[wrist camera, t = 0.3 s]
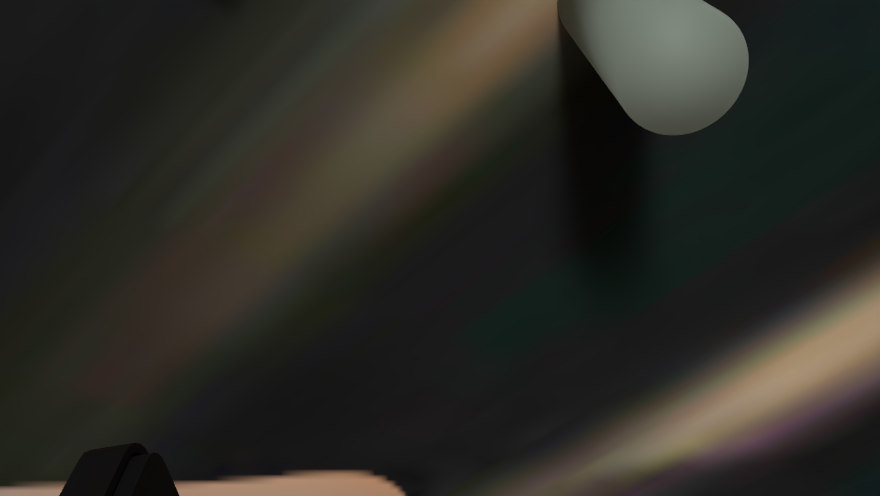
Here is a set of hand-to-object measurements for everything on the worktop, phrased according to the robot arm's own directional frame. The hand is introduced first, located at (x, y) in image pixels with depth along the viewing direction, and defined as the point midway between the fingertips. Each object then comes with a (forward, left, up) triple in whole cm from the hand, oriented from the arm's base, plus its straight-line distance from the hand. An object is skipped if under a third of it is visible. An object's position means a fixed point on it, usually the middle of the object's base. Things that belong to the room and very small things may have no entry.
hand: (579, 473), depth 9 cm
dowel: (-3, +5, -29) cm, 30 cm away
